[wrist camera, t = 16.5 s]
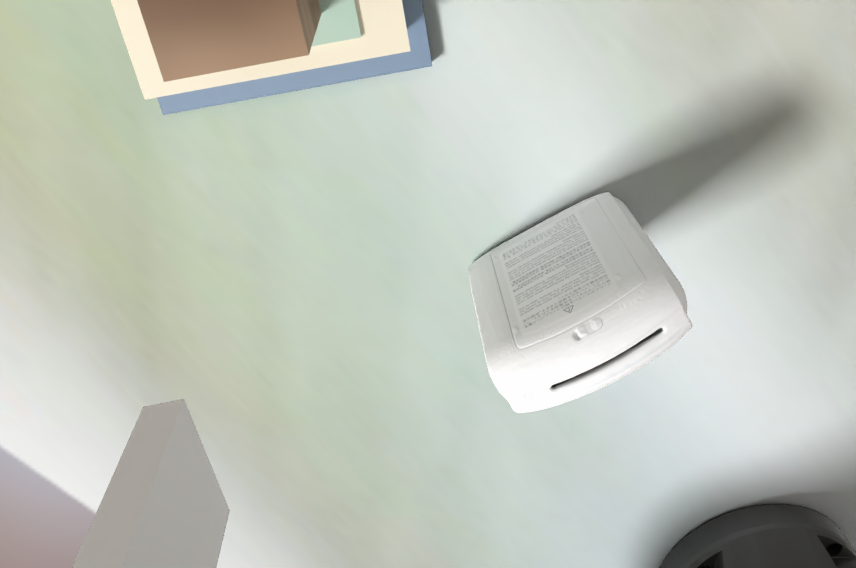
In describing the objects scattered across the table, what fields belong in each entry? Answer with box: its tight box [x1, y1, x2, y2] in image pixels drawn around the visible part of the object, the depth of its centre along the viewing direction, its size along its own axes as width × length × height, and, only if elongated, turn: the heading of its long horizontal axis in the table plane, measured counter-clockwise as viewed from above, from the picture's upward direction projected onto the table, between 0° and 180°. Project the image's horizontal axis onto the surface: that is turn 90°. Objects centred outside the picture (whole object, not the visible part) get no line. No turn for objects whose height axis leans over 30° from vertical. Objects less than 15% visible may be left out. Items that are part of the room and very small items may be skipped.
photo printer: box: [468, 192, 692, 413], centre depth 41 cm, size 10×4×12 cm, turn 121°
